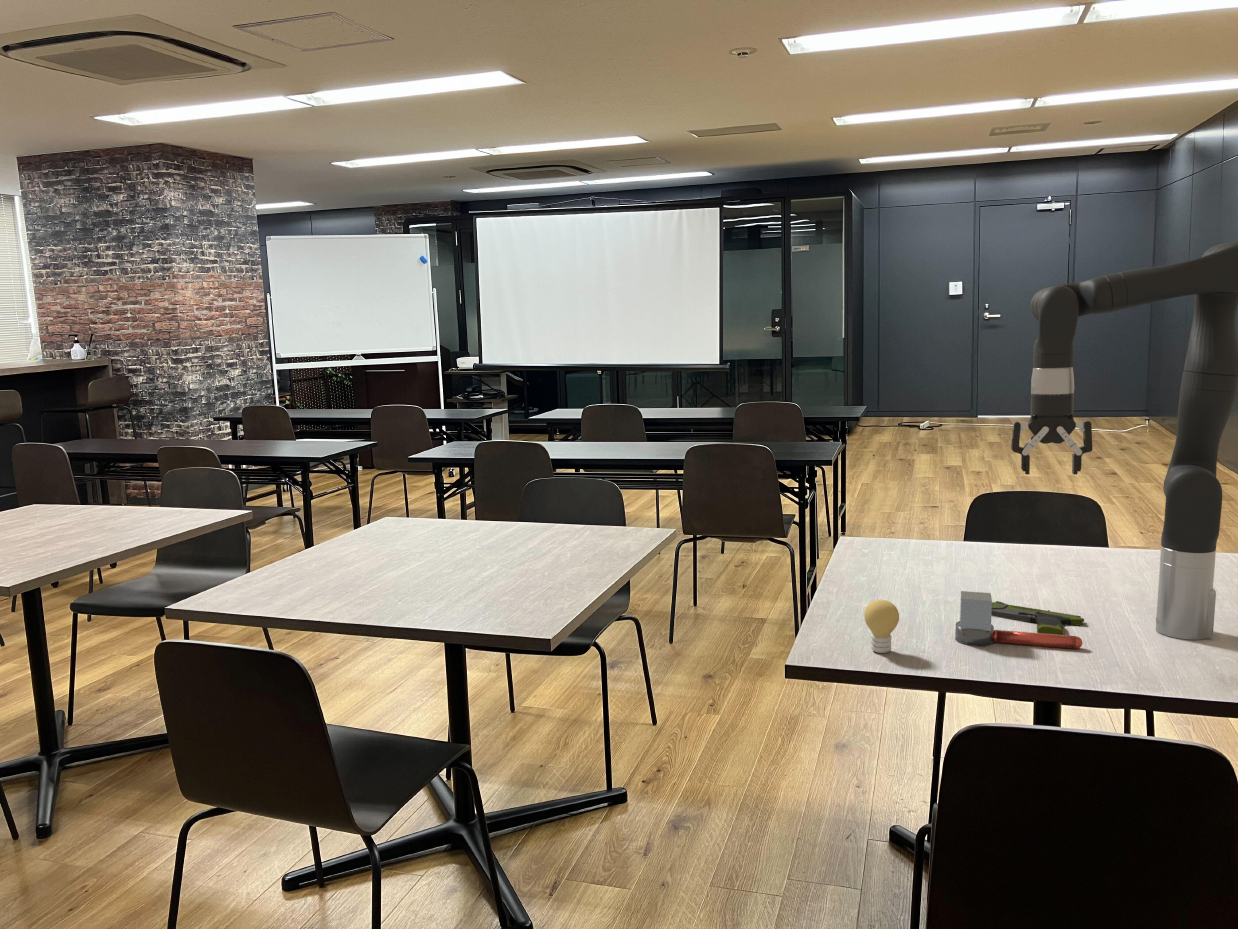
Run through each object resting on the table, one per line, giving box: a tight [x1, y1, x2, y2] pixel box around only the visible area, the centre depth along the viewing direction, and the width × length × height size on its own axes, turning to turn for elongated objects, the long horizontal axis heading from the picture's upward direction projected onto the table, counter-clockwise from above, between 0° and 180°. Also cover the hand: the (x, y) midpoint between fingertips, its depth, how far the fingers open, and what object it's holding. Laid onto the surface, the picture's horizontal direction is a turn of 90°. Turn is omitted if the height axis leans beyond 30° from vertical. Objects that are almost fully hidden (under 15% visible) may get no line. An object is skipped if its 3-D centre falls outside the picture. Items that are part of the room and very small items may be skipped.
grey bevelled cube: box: [959, 590, 993, 631], centre depth 185 cm, size 6×6×6 cm
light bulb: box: [863, 599, 900, 654], centre depth 180 cm, size 6×6×10 cm
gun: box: [991, 600, 1085, 635], centre depth 196 cm, size 2×19×15 cm
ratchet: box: [954, 620, 1084, 650], centre depth 183 cm, size 23×7×8 cm, turn 71°
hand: (1050, 473), depth 186 cm, fingers open, 8 cm apart
